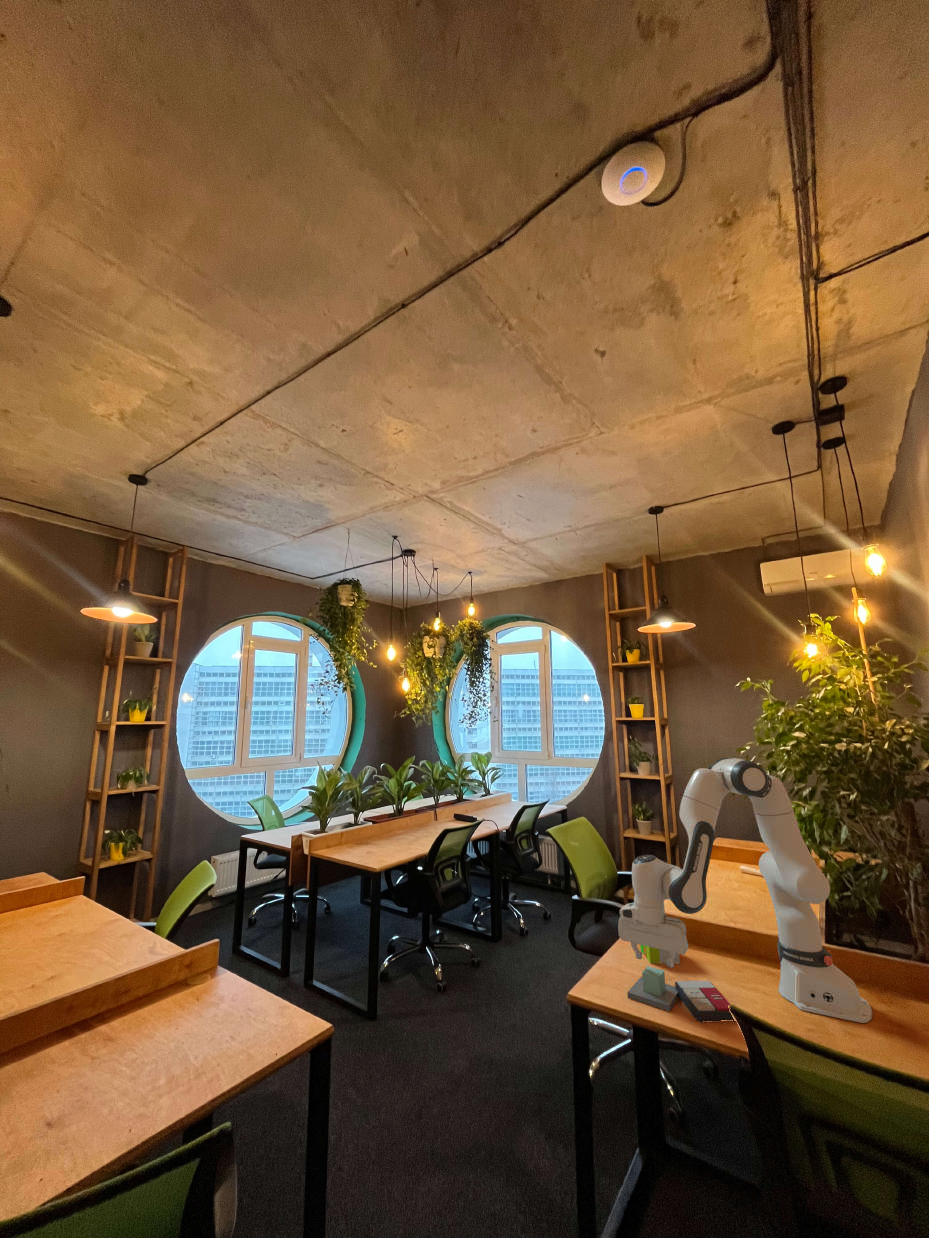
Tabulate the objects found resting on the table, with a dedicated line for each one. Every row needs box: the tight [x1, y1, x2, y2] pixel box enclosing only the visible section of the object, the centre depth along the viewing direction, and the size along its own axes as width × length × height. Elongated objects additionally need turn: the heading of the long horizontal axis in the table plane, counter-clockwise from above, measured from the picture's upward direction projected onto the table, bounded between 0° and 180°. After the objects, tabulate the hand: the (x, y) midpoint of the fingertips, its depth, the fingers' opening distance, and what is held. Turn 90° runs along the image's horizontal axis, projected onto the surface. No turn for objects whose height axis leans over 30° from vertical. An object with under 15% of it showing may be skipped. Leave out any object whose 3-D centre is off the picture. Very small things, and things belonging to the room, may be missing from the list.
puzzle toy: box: [640, 945, 681, 965], centre depth 178 cm, size 10×10×10 cm
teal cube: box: [641, 965, 666, 996], centre depth 153 cm, size 5×5×5 cm
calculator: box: [674, 980, 736, 1023], centre depth 146 cm, size 11×4×15 cm
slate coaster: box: [627, 976, 679, 1012], centre depth 152 cm, size 12×12×2 cm
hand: (654, 962), depth 154 cm, fingers open, 8 cm apart
